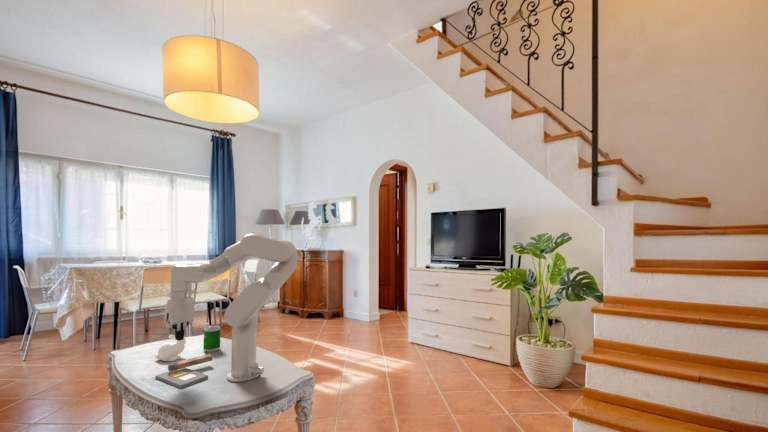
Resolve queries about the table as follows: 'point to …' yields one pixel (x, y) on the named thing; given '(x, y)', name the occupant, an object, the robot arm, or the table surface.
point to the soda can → (211, 338)
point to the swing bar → (189, 362)
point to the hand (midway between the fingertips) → (179, 339)
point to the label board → (181, 377)
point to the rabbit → (170, 350)
